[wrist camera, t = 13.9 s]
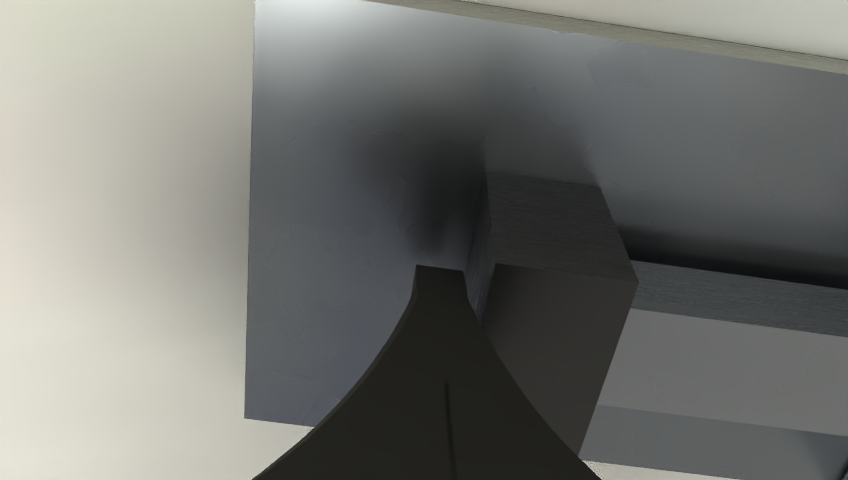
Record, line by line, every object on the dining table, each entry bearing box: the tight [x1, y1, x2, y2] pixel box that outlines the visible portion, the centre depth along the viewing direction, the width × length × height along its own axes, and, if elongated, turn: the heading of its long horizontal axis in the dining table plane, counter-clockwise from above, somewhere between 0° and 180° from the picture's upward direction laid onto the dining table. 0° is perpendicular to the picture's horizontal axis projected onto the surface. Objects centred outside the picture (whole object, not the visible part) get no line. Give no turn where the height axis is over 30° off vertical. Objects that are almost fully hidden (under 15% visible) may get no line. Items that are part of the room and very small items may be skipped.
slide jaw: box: [464, 170, 848, 480], centre depth 12 cm, size 9×11×4 cm
